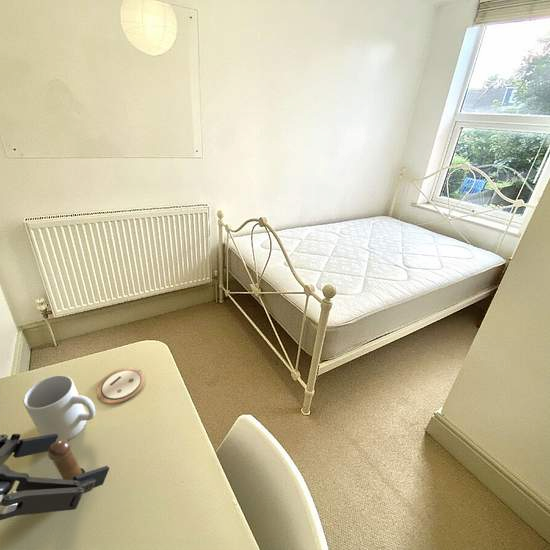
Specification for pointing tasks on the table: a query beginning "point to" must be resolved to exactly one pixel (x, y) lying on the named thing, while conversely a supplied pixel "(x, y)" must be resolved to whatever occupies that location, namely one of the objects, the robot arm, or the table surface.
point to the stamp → (64, 460)
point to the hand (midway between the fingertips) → (78, 457)
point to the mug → (58, 407)
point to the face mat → (121, 385)
